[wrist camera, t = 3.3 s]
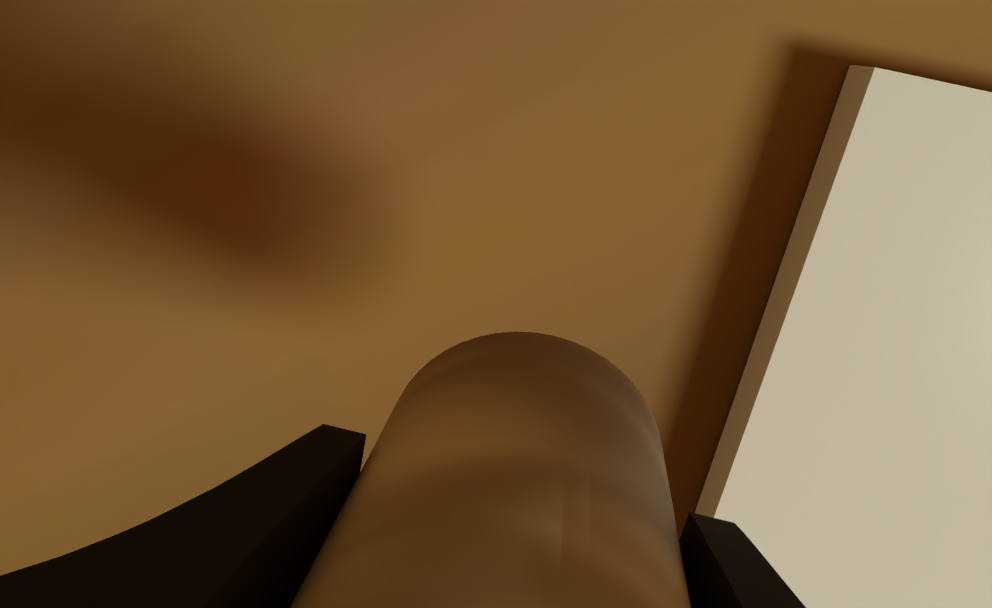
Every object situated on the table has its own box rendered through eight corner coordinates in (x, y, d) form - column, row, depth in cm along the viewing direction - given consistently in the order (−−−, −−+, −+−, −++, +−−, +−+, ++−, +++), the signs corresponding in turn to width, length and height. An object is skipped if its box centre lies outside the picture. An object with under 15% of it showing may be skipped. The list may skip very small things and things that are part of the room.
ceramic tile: (1431, 190, 16) (1514, 205, 14) (1013, 853, 23) (1042, 907, 21) (850, 64, 16) (874, 66, 15) (611, 751, 23) (613, 798, 22)
